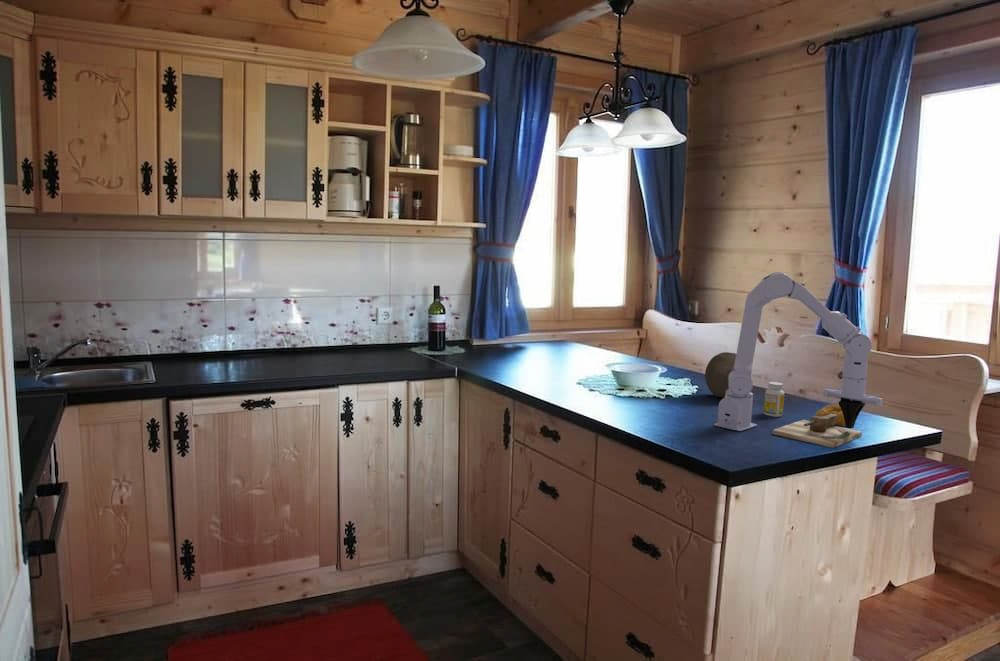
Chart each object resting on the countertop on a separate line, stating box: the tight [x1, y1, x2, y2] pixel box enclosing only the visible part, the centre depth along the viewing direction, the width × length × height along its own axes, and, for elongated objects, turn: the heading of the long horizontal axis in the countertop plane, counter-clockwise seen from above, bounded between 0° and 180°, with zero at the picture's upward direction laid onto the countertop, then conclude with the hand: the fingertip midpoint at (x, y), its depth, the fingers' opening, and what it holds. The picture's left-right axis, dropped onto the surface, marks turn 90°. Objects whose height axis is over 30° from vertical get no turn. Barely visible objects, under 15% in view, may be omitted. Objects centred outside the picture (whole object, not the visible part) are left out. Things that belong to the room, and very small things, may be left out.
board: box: [772, 419, 863, 449], centre depth 192 cm, size 18×16×1 cm
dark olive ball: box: [704, 351, 737, 399], centre depth 234 cm, size 14×14×15 cm
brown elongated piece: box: [804, 414, 838, 432], centre depth 193 cm, size 18×4×3 cm, turn 132°
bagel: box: [813, 404, 845, 427], centre depth 207 cm, size 10×11×5 cm
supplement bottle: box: [763, 381, 785, 418], centre depth 213 cm, size 5×5×10 cm
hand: (849, 427), depth 191 cm, fingers closed
